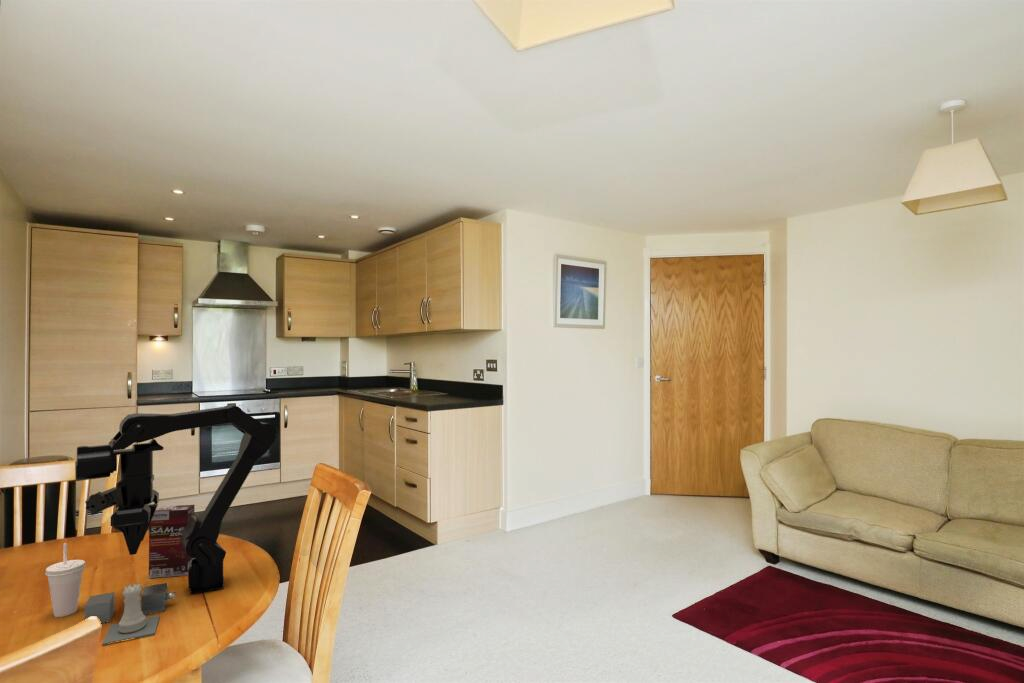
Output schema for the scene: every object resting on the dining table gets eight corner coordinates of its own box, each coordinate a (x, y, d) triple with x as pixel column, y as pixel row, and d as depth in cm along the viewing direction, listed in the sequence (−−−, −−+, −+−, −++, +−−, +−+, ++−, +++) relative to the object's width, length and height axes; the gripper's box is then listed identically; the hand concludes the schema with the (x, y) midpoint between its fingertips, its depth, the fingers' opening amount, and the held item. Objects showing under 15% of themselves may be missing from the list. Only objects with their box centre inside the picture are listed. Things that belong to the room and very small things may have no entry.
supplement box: (147, 579, 129) (147, 511, 129) (156, 571, 133) (156, 506, 134) (187, 575, 130) (187, 509, 131) (195, 568, 135) (195, 503, 135)
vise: (176, 600, 117) (176, 581, 117) (173, 609, 113) (173, 589, 113) (90, 616, 110) (90, 596, 111) (84, 626, 106) (84, 606, 106)
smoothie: (80, 602, 117) (81, 536, 117) (89, 611, 113) (89, 542, 113) (41, 614, 112) (42, 545, 112) (49, 623, 108) (49, 551, 108)
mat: (159, 617, 109) (159, 615, 110) (154, 635, 102) (154, 632, 102) (110, 626, 106) (110, 624, 106) (102, 646, 99) (102, 643, 99)
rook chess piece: (151, 622, 106) (151, 581, 107) (136, 634, 102) (136, 591, 102) (128, 623, 106) (128, 581, 107) (112, 634, 102) (112, 591, 102)
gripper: (99, 469, 121) (99, 540, 120) (78, 487, 104) (77, 570, 104) (159, 464, 126) (159, 532, 125) (147, 480, 109) (147, 559, 109)
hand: (136, 547), depth 115 cm, fingers open, 9 cm apart
